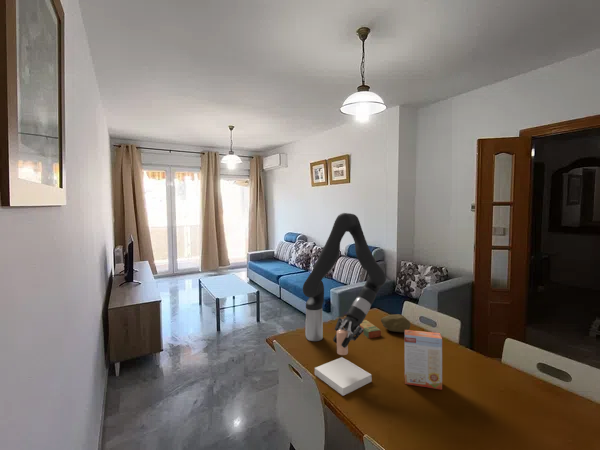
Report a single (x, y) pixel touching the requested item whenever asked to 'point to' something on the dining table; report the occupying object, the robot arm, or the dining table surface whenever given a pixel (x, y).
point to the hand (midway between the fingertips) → (338, 344)
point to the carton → (370, 329)
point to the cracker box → (423, 359)
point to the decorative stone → (396, 323)
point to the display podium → (343, 375)
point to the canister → (340, 338)
